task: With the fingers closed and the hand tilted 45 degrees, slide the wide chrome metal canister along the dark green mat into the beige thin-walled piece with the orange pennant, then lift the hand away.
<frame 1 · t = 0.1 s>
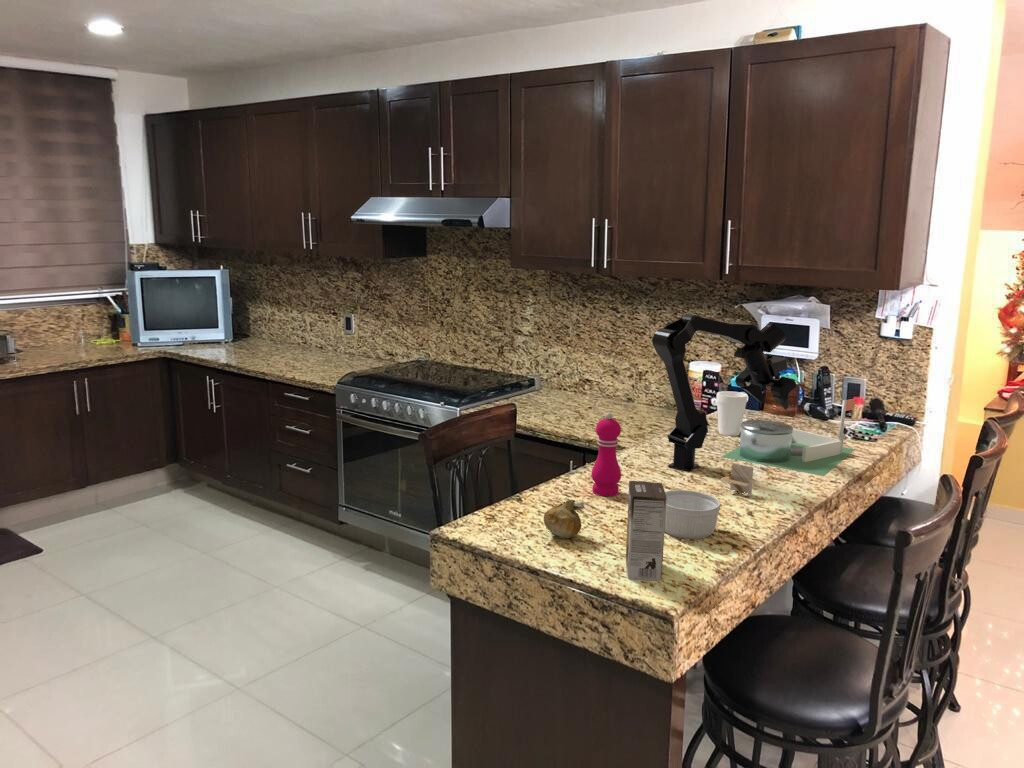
hand: (774, 405, 228), 15 cm above the table, tool tilted 35°, fingers open, 9 cm apart
pepper mill: (605, 493, 194), on the table
ramekin: (686, 531, 171), on the table
chrome metal canister: (764, 456, 229), resting on green mat, touching beige thin-walled piece
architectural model: (739, 495, 196), on the table
foam cup: (729, 434, 255), on the table
green mat: (789, 453, 233), on the table
beige thin-walled piece: (792, 450, 236), resting on green mat
coffee box: (642, 571, 149), on the table
onion: (562, 537, 165), on the table
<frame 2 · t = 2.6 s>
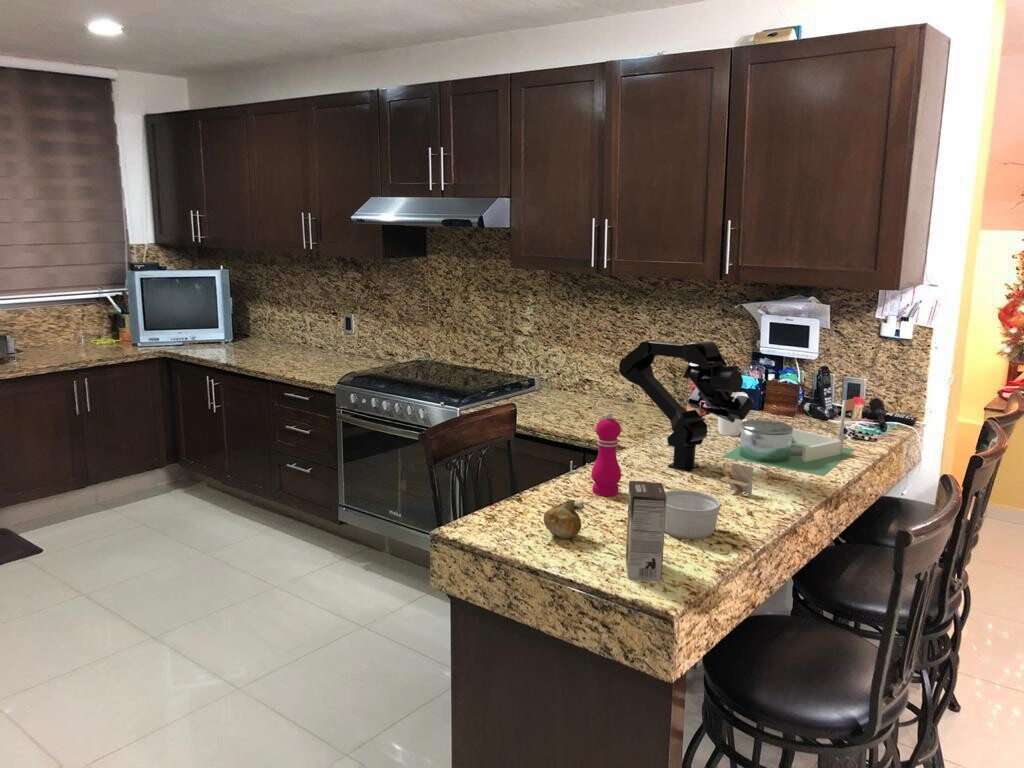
hand: (733, 421, 219), 12 cm above the table, tool tilted 45°, fingers closed
nothing on the table moved.
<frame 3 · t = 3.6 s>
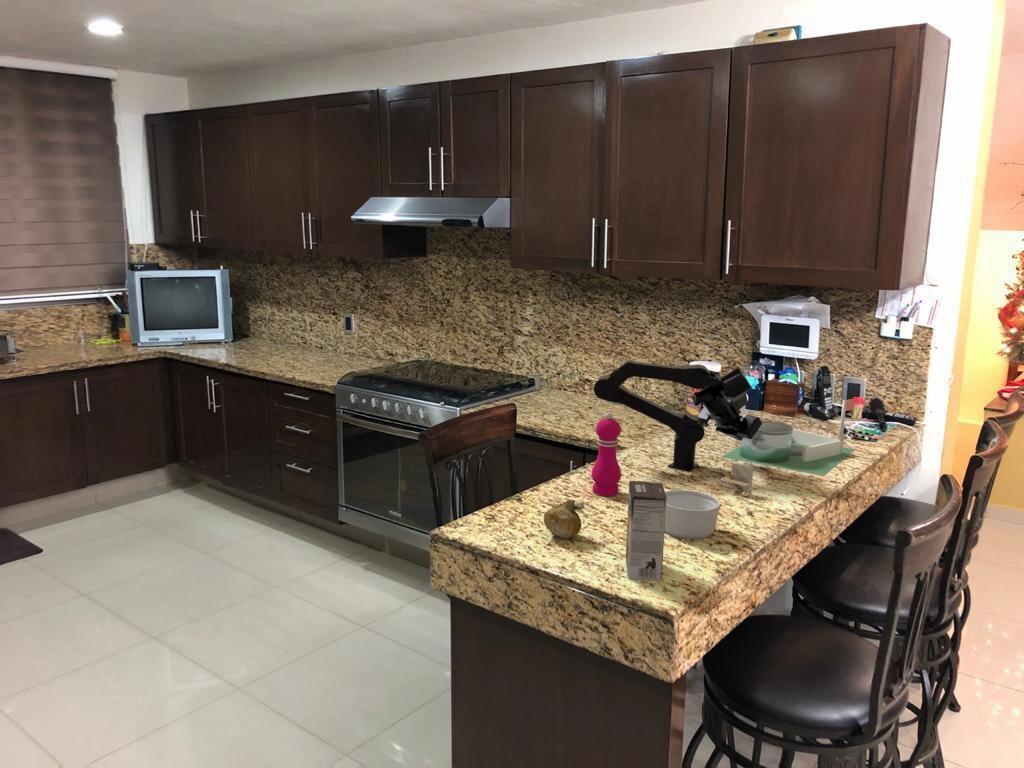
hand: (741, 439, 222), 7 cm above the table, tool tilted 45°, fingers closed
nothing on the table moved.
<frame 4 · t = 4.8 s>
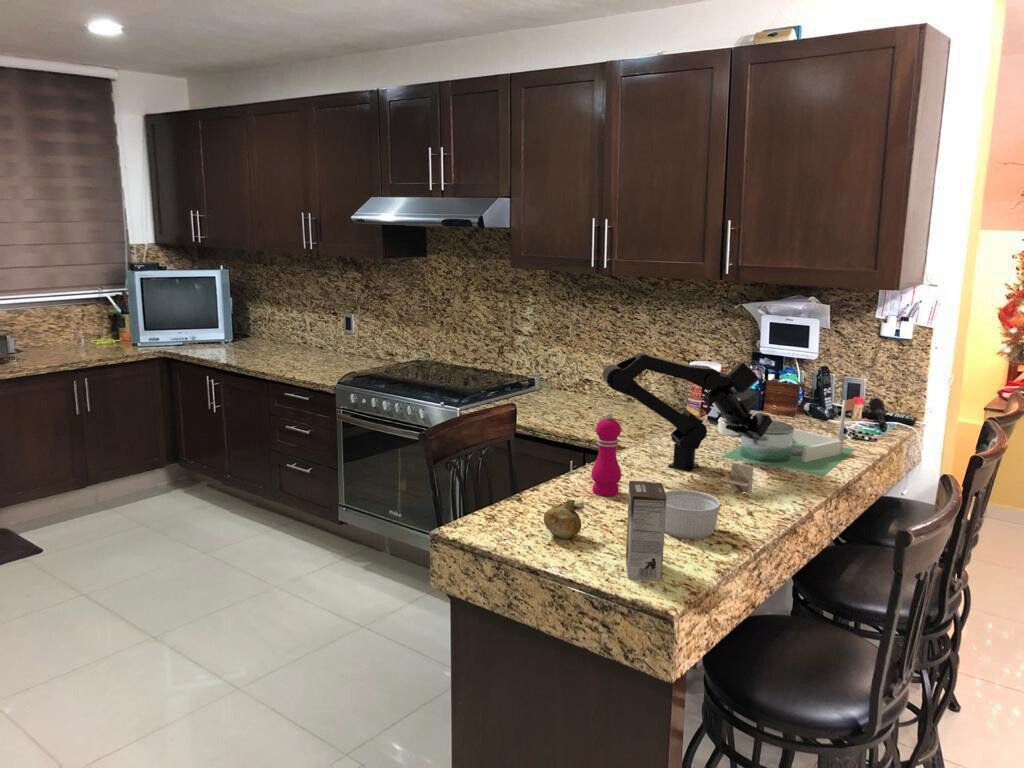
hand: (751, 437, 224), 7 cm above the table, tool tilted 45°, fingers closed, pressing on chrome metal canister
chrome metal canister: (765, 455, 229), resting on green mat, touching gripper
everything else where it was.
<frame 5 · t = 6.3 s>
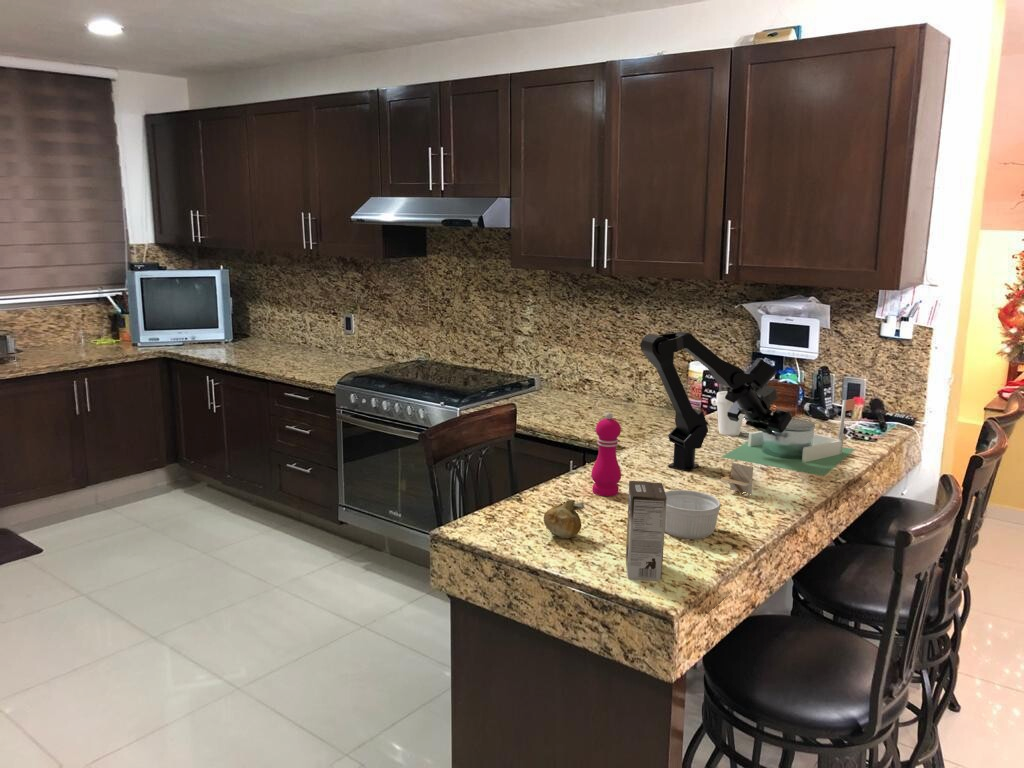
hand: (770, 433, 229), 7 cm above the table, tool tilted 45°, fingers closed
chrome metal canister: (786, 452, 234), resting on green mat, touching gripper
everything else where it was.
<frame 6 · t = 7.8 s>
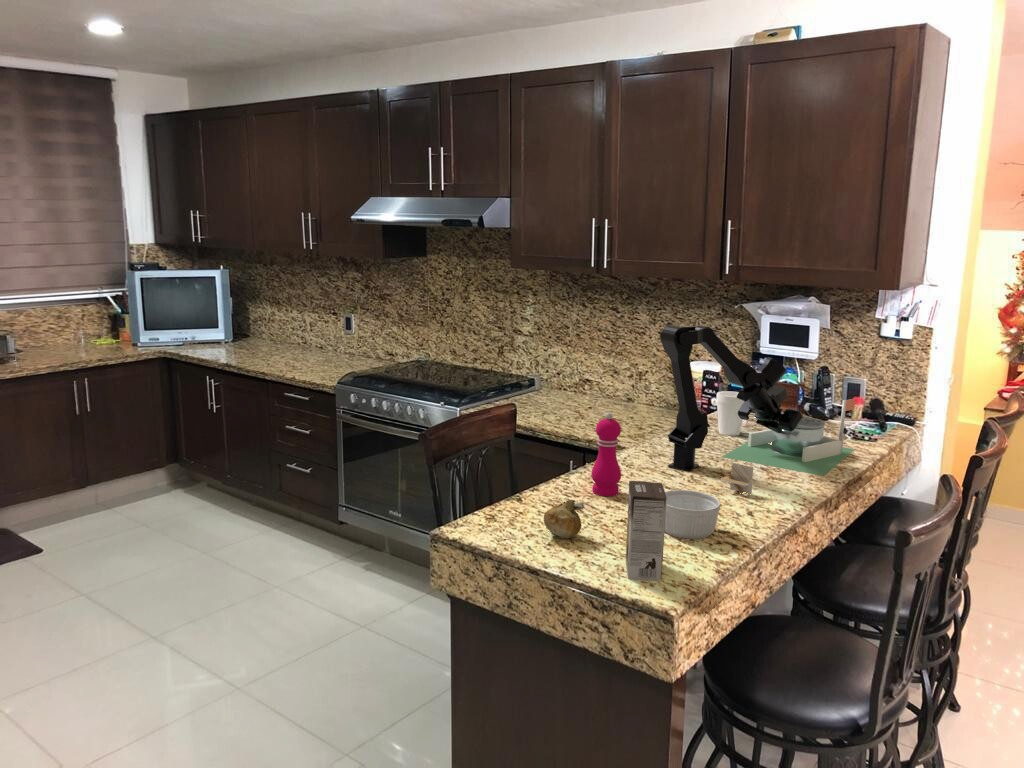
hand: (780, 432, 232), 7 cm above the table, tool tilted 45°, fingers closed
chrome metal canister: (796, 450, 236), resting on green mat, touching gripper, beige thin-walled piece
everything else where it was.
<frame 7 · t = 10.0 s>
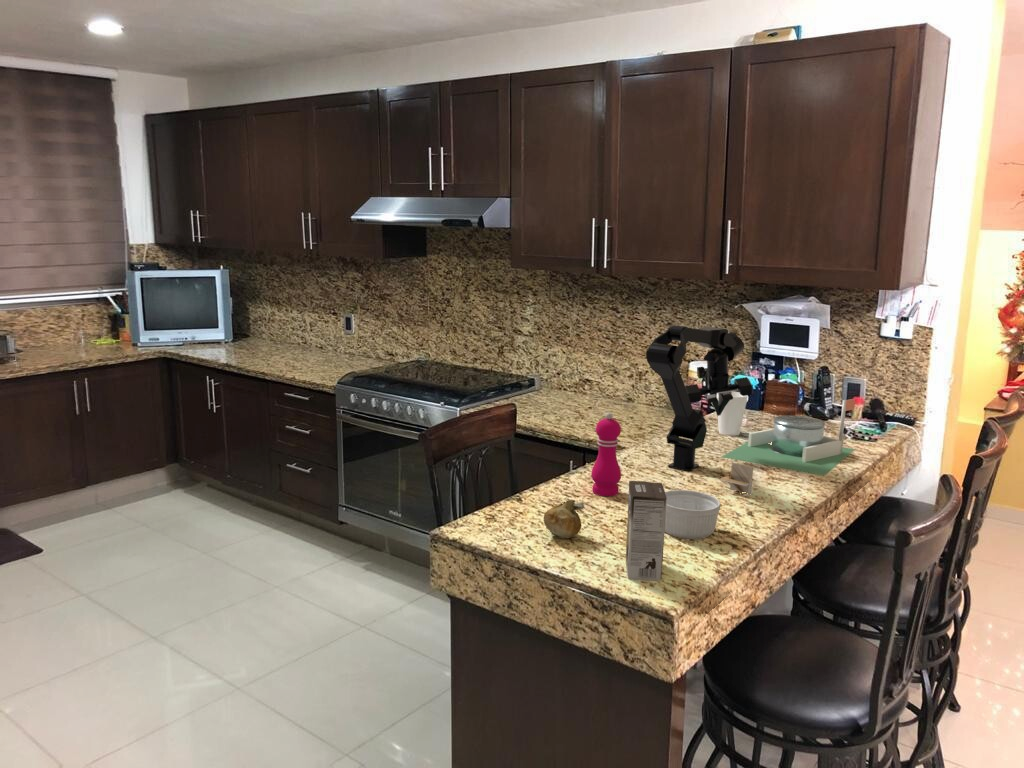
hand: (718, 414, 231), 11 cm above the table, tool tilted 20°, fingers closed
chrome metal canister: (796, 450, 236), resting on green mat, touching beige thin-walled piece
everything else where it was.
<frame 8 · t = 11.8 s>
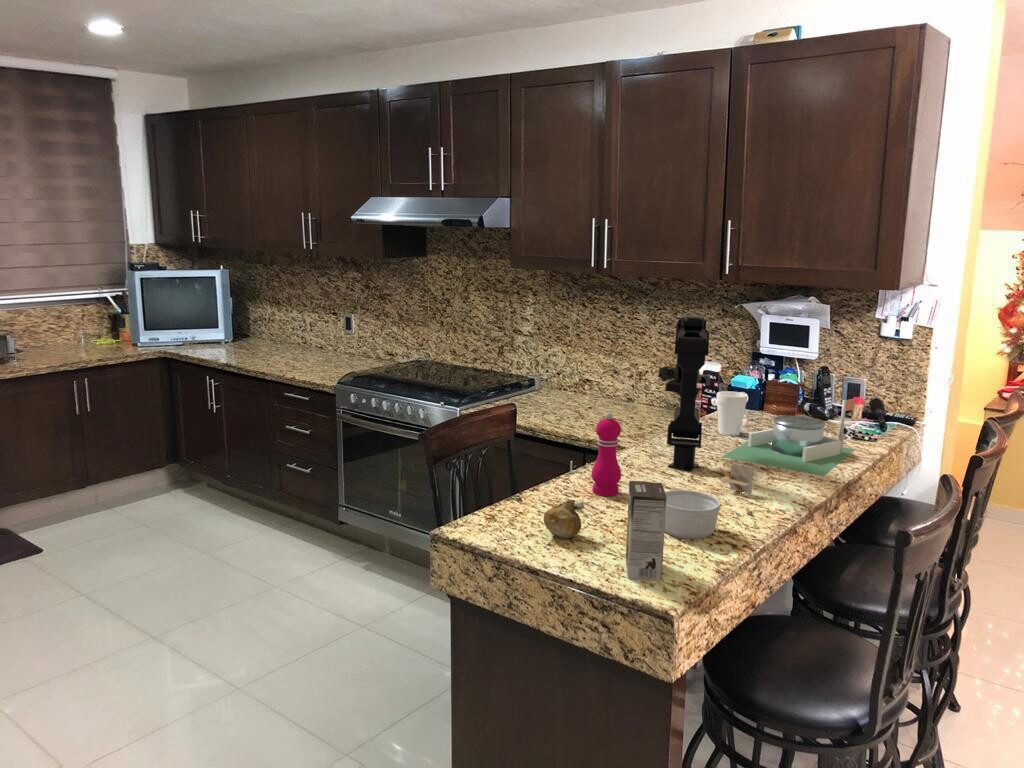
hand: (686, 412, 230), 12 cm above the table, tool pointing down, fingers closed
nothing on the table moved.
at the end: chrome metal canister 1.1 cm from the beige thin-walled piece (horizontally); chrome metal canister tilted 0°; chrome metal canister moved 13.7 cm from its start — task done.
